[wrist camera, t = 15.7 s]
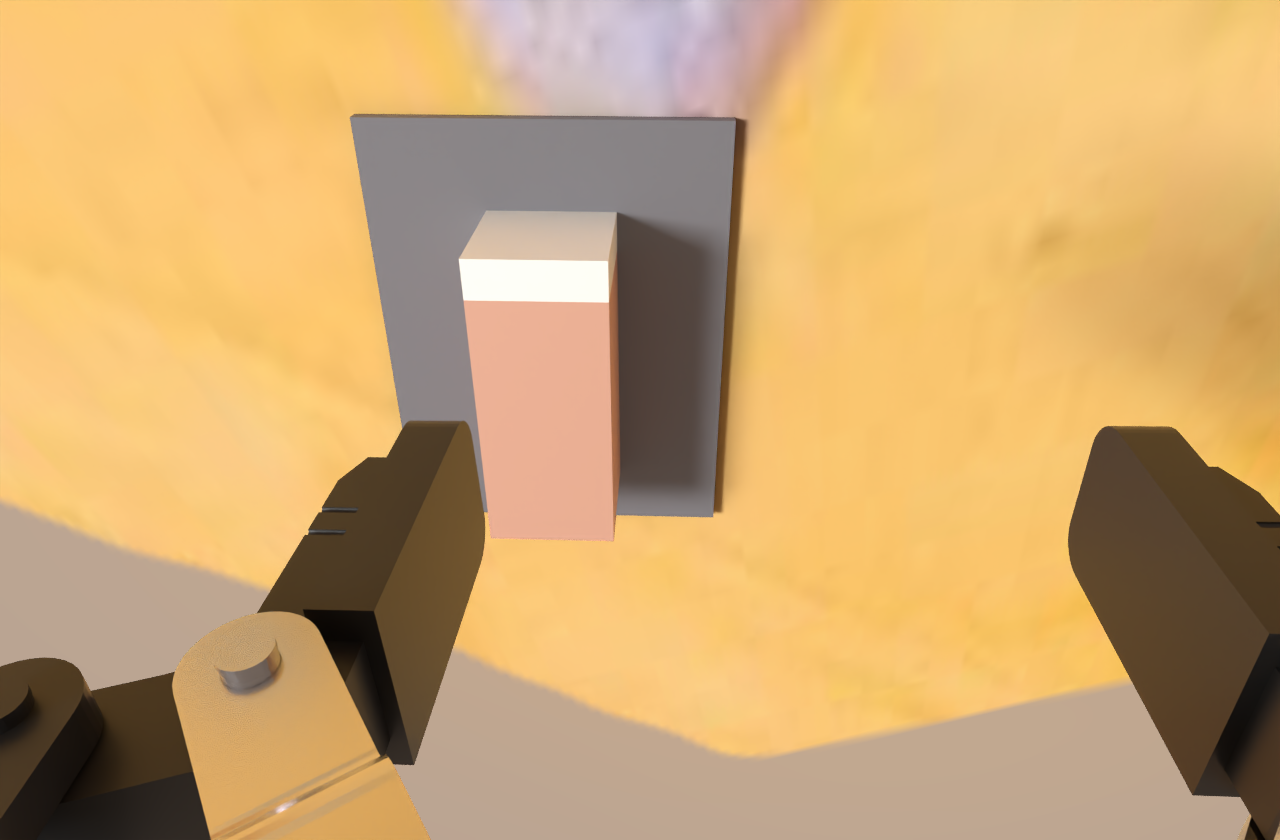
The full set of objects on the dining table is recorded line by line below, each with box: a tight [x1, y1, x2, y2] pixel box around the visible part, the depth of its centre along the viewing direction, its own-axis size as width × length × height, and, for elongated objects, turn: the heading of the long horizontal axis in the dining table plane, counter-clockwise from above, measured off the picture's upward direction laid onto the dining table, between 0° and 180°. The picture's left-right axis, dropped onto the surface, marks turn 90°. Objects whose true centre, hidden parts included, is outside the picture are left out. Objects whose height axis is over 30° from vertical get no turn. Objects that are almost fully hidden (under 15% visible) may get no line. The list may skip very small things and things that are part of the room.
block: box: [459, 211, 620, 541], centre depth 34 cm, size 5×5×12 cm
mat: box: [350, 114, 736, 517], centre depth 37 cm, size 14×18×1 cm
